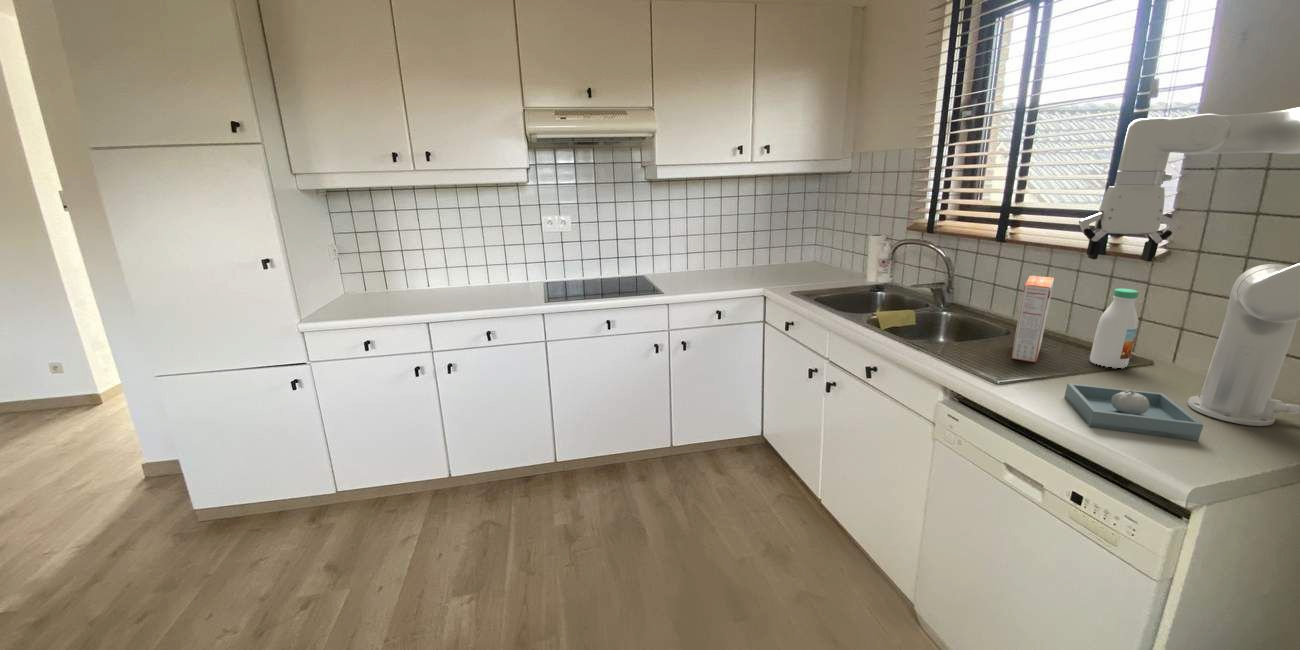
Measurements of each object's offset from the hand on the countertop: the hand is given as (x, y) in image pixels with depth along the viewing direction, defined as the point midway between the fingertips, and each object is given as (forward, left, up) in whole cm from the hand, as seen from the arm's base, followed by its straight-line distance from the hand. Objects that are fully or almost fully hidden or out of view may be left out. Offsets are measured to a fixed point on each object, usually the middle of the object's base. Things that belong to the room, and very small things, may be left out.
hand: (1118, 259), depth 118 cm
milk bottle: (-10, -18, -31) cm, 37 cm away
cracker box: (+8, -20, -31) cm, 37 cm away
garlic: (-1, +17, -30) cm, 34 cm away
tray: (-1, +18, -30) cm, 35 cm away
